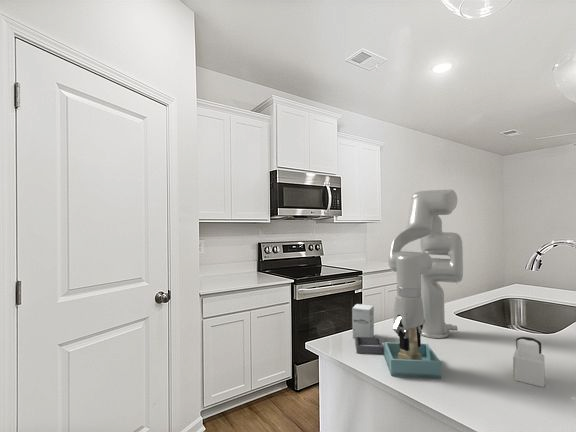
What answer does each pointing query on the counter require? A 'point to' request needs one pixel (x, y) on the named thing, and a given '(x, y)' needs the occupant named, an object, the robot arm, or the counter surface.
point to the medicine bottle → (529, 362)
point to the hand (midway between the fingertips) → (410, 346)
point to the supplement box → (363, 320)
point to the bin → (412, 362)
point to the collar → (369, 349)
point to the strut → (411, 346)
